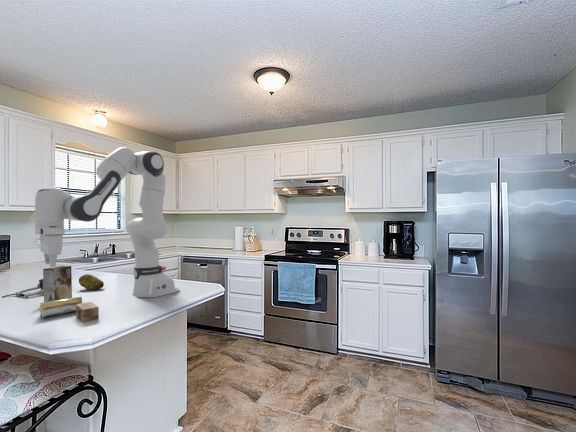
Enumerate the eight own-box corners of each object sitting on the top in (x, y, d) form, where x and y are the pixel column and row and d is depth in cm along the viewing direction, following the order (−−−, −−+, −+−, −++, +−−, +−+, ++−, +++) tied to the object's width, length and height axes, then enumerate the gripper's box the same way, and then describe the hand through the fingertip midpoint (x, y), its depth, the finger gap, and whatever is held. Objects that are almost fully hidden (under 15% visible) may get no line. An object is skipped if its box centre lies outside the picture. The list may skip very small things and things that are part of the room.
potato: (90, 292, 162) (90, 277, 162) (76, 289, 168) (75, 275, 168) (105, 288, 169) (105, 274, 169) (91, 286, 175) (91, 272, 175)
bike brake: (49, 287, 170) (3, 301, 153) (47, 275, 169) (0, 288, 152) (61, 290, 163) (14, 305, 146) (59, 278, 162) (11, 292, 145)
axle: (80, 303, 127) (80, 296, 127) (82, 304, 125) (82, 297, 125) (40, 310, 118) (40, 302, 118) (41, 311, 116) (41, 303, 116)
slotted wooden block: (91, 316, 122) (91, 301, 122) (98, 322, 115) (98, 306, 115) (76, 320, 119) (76, 304, 119) (83, 326, 112) (82, 309, 112)
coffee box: (61, 298, 150) (61, 265, 150) (72, 299, 149) (72, 265, 149) (43, 303, 141) (42, 268, 141) (54, 304, 140) (54, 269, 140)
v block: (76, 312, 128) (76, 300, 128) (81, 316, 123) (81, 303, 123) (40, 319, 120) (40, 306, 120) (43, 324, 115) (43, 310, 115)
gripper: (35, 229, 124) (35, 263, 124) (44, 230, 110) (44, 269, 110) (54, 228, 129) (55, 261, 129) (65, 229, 115) (66, 267, 115)
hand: (50, 265), depth 119 cm, fingers open, 8 cm apart
